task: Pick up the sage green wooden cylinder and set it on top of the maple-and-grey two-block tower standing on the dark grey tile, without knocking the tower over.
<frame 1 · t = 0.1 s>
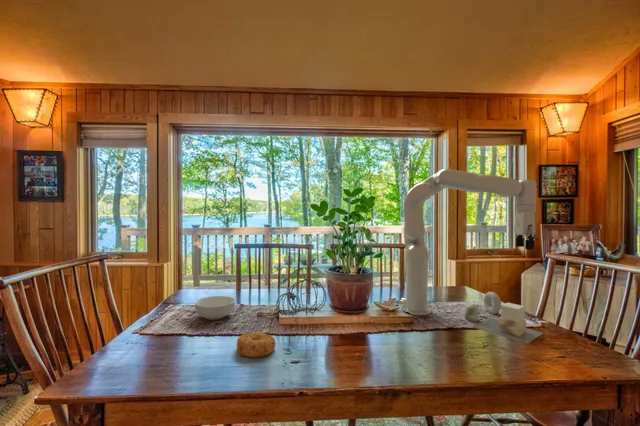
hand: (524, 247, 140), 31 cm above the table, tool pointing down, fingers open, 9 cm apart
cereal bowl: (215, 317, 141), on the table
cylinder: (471, 321, 138), on the table
donut: (492, 314, 148), on the table
top block: (512, 318, 125), point 6 cm above the table, touching base block
tile: (506, 331, 127), on the table
bagel: (255, 351, 109), on the table
base block: (512, 331, 125), point 1 cm above the table, touching tile, top block
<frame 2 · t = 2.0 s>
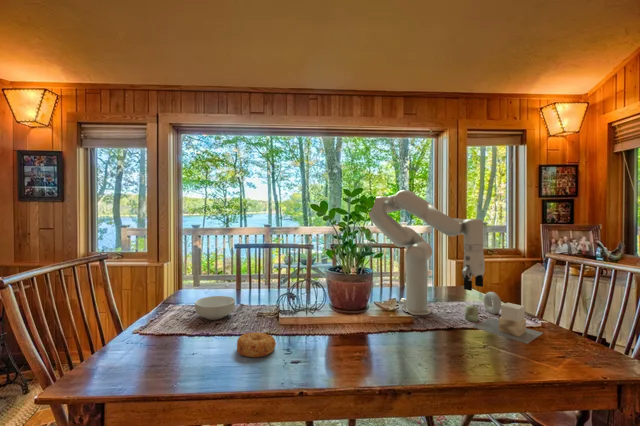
hand: (473, 288, 137), 14 cm above the table, tool pointing down, fingers open, 9 cm apart
nothing on the table moved.
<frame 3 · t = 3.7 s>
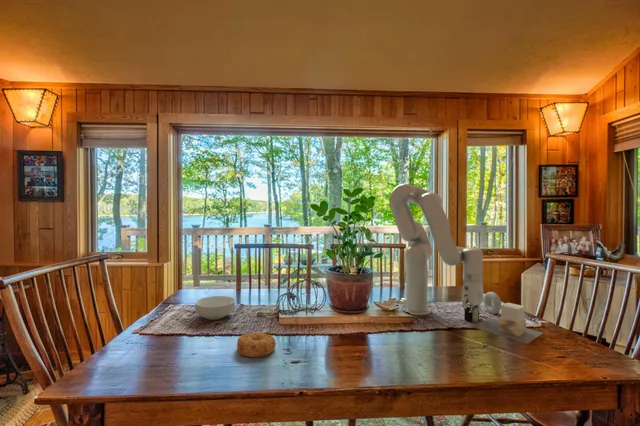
hand: (471, 319, 138), 1 cm above the table, tool pointing down, fingers closed on cylinder, 5 cm apart
cylinder: (471, 321, 138), on the table, touching gripper
everything else where it was.
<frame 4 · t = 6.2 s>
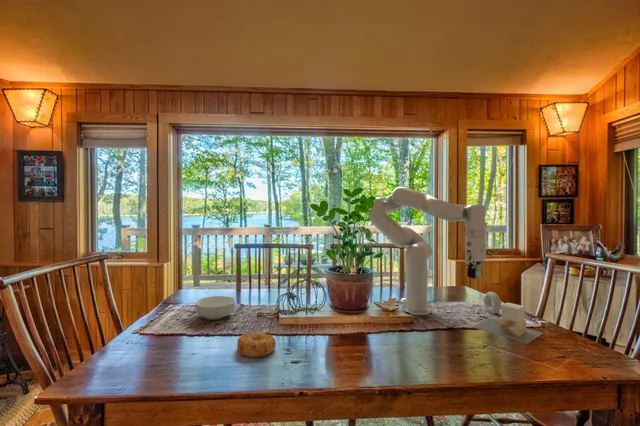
hand: (474, 276, 137), 19 cm above the table, tool pointing down, fingers closed on cylinder, 5 cm apart
cylinder: (474, 278, 137), point 19 cm above the table, touching gripper
everything else where it was.
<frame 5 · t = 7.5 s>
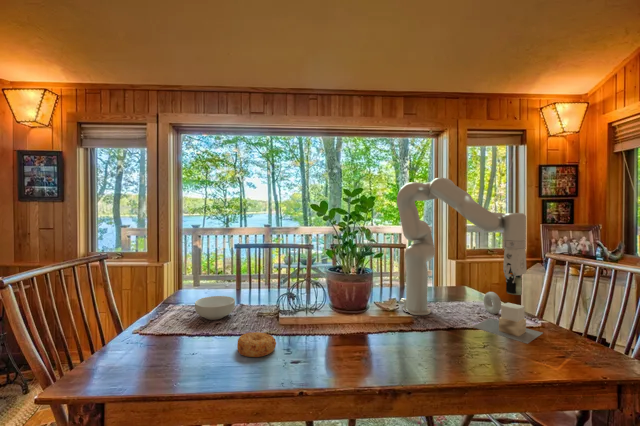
hand: (514, 291, 125), 16 cm above the table, tool pointing down, fingers closed on cylinder, 5 cm apart
cylinder: (514, 293, 125), point 16 cm above the table, touching gripper
everything else where it was.
when the fingers open (13 cm above the table, at t = 8.5 s): cylinder drops 1 cm, resting on top block.
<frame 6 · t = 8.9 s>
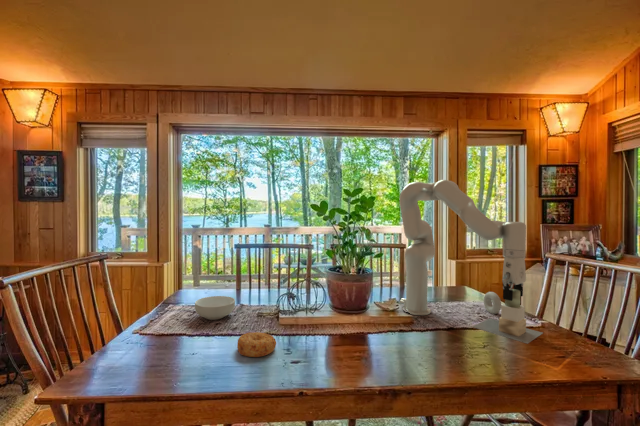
hand: (513, 297, 125), 14 cm above the table, tool pointing down, fingers open, 9 cm apart
cylinder: (512, 305, 125), point 11 cm above the table, touching top block
top block: (512, 318, 125), point 6 cm above the table, touching base block, cylinder
everything else where it was.
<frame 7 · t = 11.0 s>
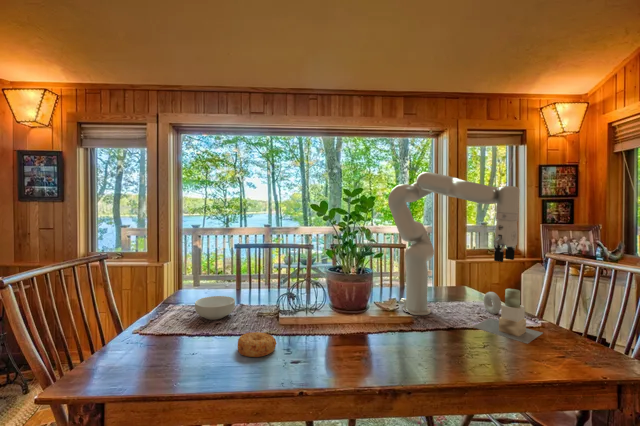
hand: (504, 260, 128), 28 cm above the table, tool pointing down, fingers open, 9 cm apart
nothing on the table moved.
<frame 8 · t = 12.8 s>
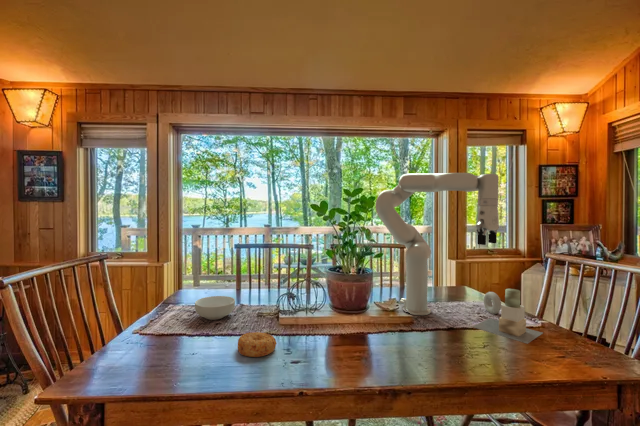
hand: (487, 243, 136), 33 cm above the table, tool pointing down, fingers open, 9 cm apart
nothing on the table moved.
at the end: cylinder 0.2 cm off-centre on the top block, point 5.0 cm above the top block's base; top block 0.0 cm off-centre on the base block, point 5.0 cm above the base block's base; cylinder tilted 0° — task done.
